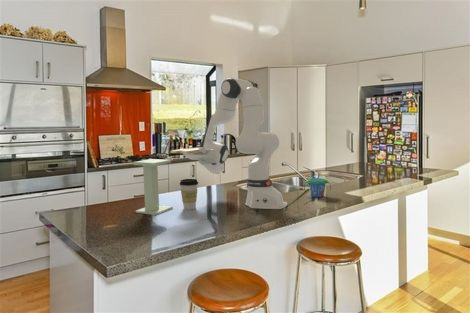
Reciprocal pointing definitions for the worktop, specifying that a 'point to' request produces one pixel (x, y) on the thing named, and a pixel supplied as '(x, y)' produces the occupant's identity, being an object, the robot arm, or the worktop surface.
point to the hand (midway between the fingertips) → (195, 148)
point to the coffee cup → (189, 193)
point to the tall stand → (152, 186)
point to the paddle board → (187, 150)
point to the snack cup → (317, 186)
